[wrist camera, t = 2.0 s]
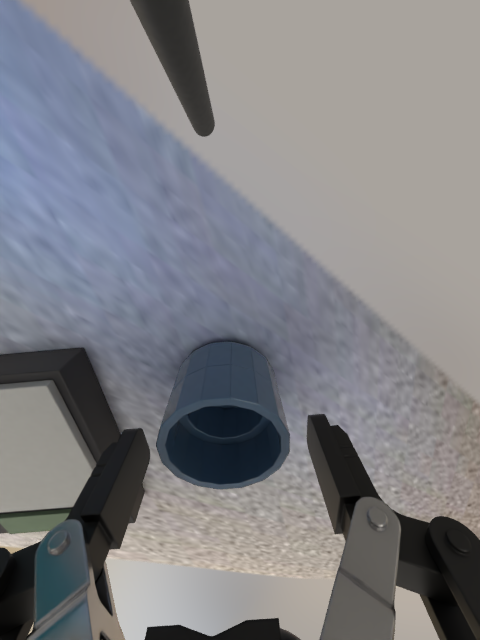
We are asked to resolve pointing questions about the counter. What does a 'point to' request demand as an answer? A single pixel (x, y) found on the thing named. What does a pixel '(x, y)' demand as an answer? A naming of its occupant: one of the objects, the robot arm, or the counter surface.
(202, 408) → the blue cup
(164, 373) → the counter surface
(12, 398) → the kitchen scale
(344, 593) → the robot arm
